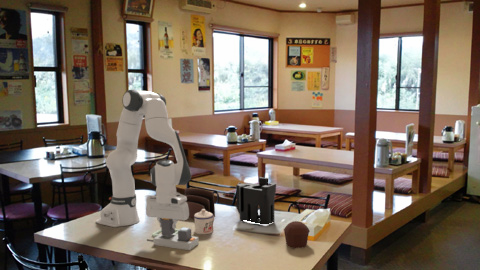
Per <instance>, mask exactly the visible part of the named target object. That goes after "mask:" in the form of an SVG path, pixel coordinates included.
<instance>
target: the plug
mask: <svg viewBox="0 0 480 270" xmlns="http://www.w3.org/2000/svg"><path fill="white" fill-rule="evenodd" d="M173 223H174V222H173V219H166V218H162V219H161V227H160V229H161V230H162V232H161V234H162V235H167V236H171V235H172V234H174V233H175V229H176V228H175V229H171V225H172V224H173Z"/></svg>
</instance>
